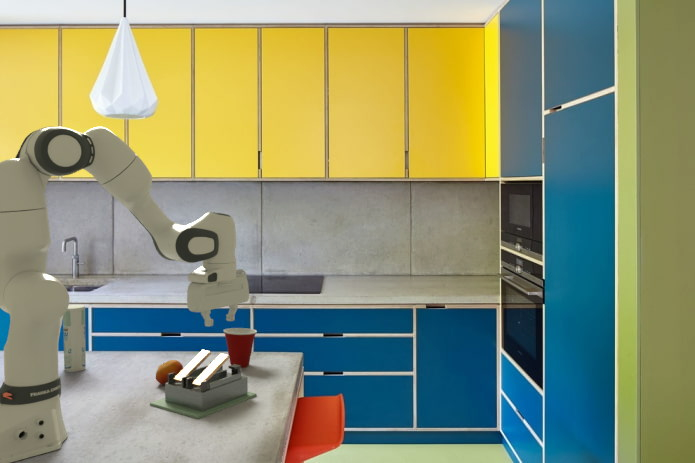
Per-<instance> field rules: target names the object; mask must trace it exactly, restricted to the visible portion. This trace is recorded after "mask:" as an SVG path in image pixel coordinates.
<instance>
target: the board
mask: <svg viewBox="0 0 695 463" xmlns="http://www.w3.org/2000/svg"><path fill="white" fill-rule="evenodd" d="M254 397H257V393H255V392H252V391H251V392H250V391H248V395H245V396H243V397H240V398H237V399H235V400H232V401H230V402H227V403H225V404H222V405H219V406H217V407H214V408H212V409H209V410H207V411H204V412H200V411H197V410H193V409H190V408H186V407H183V406H179V405H175V404H172V403H168V402H165V397H164V398H160V399H158V400H154V401H152V402H149V405H150V406H152V407H155V408H159V409H162V410H166V411H169V412H173V413H176V414H180V415H183V416H186V417H190V418H193V419H196V420H199V419H202V418H203V417H207V416H209V415H212V414H215V413H216V412H219V411H221V410H224V409H227V408H229V407H232V406H234V405H236V404H239V403H243V402H244V401H247V400H250V399H251V398H254Z"/></svg>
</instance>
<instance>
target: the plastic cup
mask: <svg viewBox="0 0 695 463" xmlns="http://www.w3.org/2000/svg"><path fill="white" fill-rule="evenodd" d="M222 331H223V333H224V337H225V341H226V347H227V351H228V354H227V355H228V356H229V363H230V364H229V365H233V364H236V365H241V369H243V368H247V367H249V365H250V362H251V355H252V351H253V347H254V346H253V345H254V341H255V337H256V334H257V332H258V331H257V329H254V328H244V327H231V328H225V329H223V330H222Z"/></svg>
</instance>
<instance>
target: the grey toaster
mask: <svg viewBox="0 0 695 463" xmlns="http://www.w3.org/2000/svg"><path fill="white" fill-rule="evenodd" d="M213 361H214V360H212V361H210V364H211V363H212V362H213ZM210 364H209V365H210ZM209 365H204V366H201V367H200V366H199V367H198V368H197V369H196V370H195V371H194V372H193V373H192V374H191V375H190V376H185V377H182V383H179V382H175V381H174V378H175V377H176V376H177V375H175V373H174V372H173V373H170V374H168V383H165V386H164V395H165V396H164V398H165V402H168V403H172V404H175V405H179V406H183V407H186V408H190V409H193V410H197V411H200V412H204V411H207V410H209V409H212V408H214V407H217V406H219V405H222V404H225V403H227V402H230V401H232V400H235V399H237V398H240V397H243V396H245V395H248V392H249V390H248V387H249V386H248V383H249V382H248V379H249V378H248V376H245V375H242V368H241V365H236V364H233V365H231V364H229V365H228V369H231V372H228V370H227V369H223V365H224V364H223V365H222V366H221V367H220V368H219V369H218V371H217V372H216V373H215V374H214V375H213V376H212V377H211V378H210V379H209V380H206V381H203V382H201V388H199V387H195V386H193V385H192V383H193V382H194V381H195V380H196V379H197V377H198V376H199V375H200V374H201V373H202V372H203V371H204V370H205V369H206V368H207V367H208V366H209Z"/></svg>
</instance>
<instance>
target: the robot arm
mask: <svg viewBox="0 0 695 463" xmlns="http://www.w3.org/2000/svg"><path fill="white" fill-rule="evenodd" d="M19 147H20V148H19V149H18V152H17V154H16V155H15V158H10V159H5V160H3V161H1V162H0V309H1V310H2V311H3V312H5V313H7V314H9V317H10V318H9V320H10V321H9V322H10V323H9V329H8V333H7V334H8V335H7V340H6V343H5V344H4V347H3V372H4V373H3V376H4V379H3V380H4V381H3V382H2V385H1V386H0V463H14V462H18V461H20V460H24V459H28V458H32V457H35V456H39V455H42V454H43V455H44V454H46V453H49V452H53V451H57V450H60V449H61V448H62V444H63V442H64V441H66V439H67V438H68V437H69V436H68V435H69V434H68V431H67V429H66V426H65V423H64V417H63V413H62V406H61V394H62V381H61V380H62V378H61V375H60V374H59V340H60V335H61V334H60V333H61V328H62V326H63V315H64V313H65V312H66V310H67V308H68V306H69V305H70V293H69V292H68V290H67V288H66V287H65V285H64V284H63V283H62V282H61V281H60V279H58V278H56V277H55V276H53V275H50V274H48V273H47V261H48V260H47V258H48V252H49V247H50V245H51V241H52V238H51V232H50V222H49V214H48V207H47V206H48V205H47V198H46V197H47V196H46V188H47V184H48V181H49V180H50V179H51V177H55V178H56V177H62V176H69V175H73V174H75V173H77V172H80V171H81V170H85V171H86V172H87V173H89V174H90V175H91V176H92V177H93V178H95V180H96V181H97V183H98V184H100V185H101V187H102V188H103V189H104V190H105V191H106V192H108V193H109V194H110V195H111V196H112V197H113V198H114V199H116V200H117V201H118V202H119V203H121V204H122V205H123V206H124V207H125V208H126V209H128V210H129V212H130V213H131V214H132V215H133V217H134V218H135V219H136V220H137V221H138V222H139V223H140V225H141V226H142V227H143V228H144V229H145V230H146V231H147V233H148V234H149V235H150V237H151V240H152V242H153V246H154V248H155V249H156V252H157V253H158V255H159V256H160V257H161V258H163V259H165V260H167V261H174V262H175V261H176V262H180V263H186V264H196V263H198V262H202V265H201V266H200V267H198V268H197V269H195V270H193V271H192V272H189V273H188V275H187V281H188V282H189V284H188V286H187V290H186V291H187V292H186V293H187V294H186V301H187V302H186V306H187V309H188V310H189V311H190V312H192V313H200V315H201V317H202V318H203V320H204V326H205V327H213V326H214V319H213V318H211V316H210V315H211V313H212V312H211V310H215V309H219V308H224V307H228V308H229V309H228V313H227V314H225V317H226V318H225V320H226V321H227V322H234V321H235V320H236V319H235V317H236V316H235V315H236V312H237V311H238V309H239V308H238V307H239V306H238V304H239V305H240V304H243V303H247V302H248V301H249V299H250V290H249V287H250V286H249V281H248V278H247V276H248V275H247V272H246V271H245V270H244V269H240V268H239V269H237V259H236V258H237V257H236V247H237V234H236V233H237V232H236V225H235V220H234V218H233V217H232V216H231V215H230V214H228V213H227V214H226V213H221V212H215V211H207V212H205V213H204V214H203V215H202V216H201V217H200V218H198V219H197V220H195V221H193V222H191V223H188V224H185V225H184V224H181V223H178V222H175V221H173V220H171V219H170V218H169V217H168V216H167V214H165V212H164V211H163V210H162V209H161V207H160V206H159V205H158V204H157V203H156V201H155V200H154V199H153V197H152V196H151V193H150V191H151V188H152V185H153V176H152V173H151V172H150V170H149V168H148V167H147V166H146V164H145V162H144V161H143V160H142V159H141V158H140V157H139V155H137V153H136V152H135V151H134V150H133V148H132V147H130V146H129V145H128V144H127V143H126V142H125V141H124V140H123V139H121V137H119V136H118V135H116V134H115V133H114V132H113V131H111V130H110V129H109V128H106V127H103V126H96V127H93V128H90V129H88V130H86V131H85V132H80V131H77V130H74V129H72V128H68V127H65V126H45V127H41V128H38V129H36V130H34V131H32V132H31V133H29V134H28V135H26V137H25V138H24V140H23V142H22V143H21V145H20V146H19Z"/></svg>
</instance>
